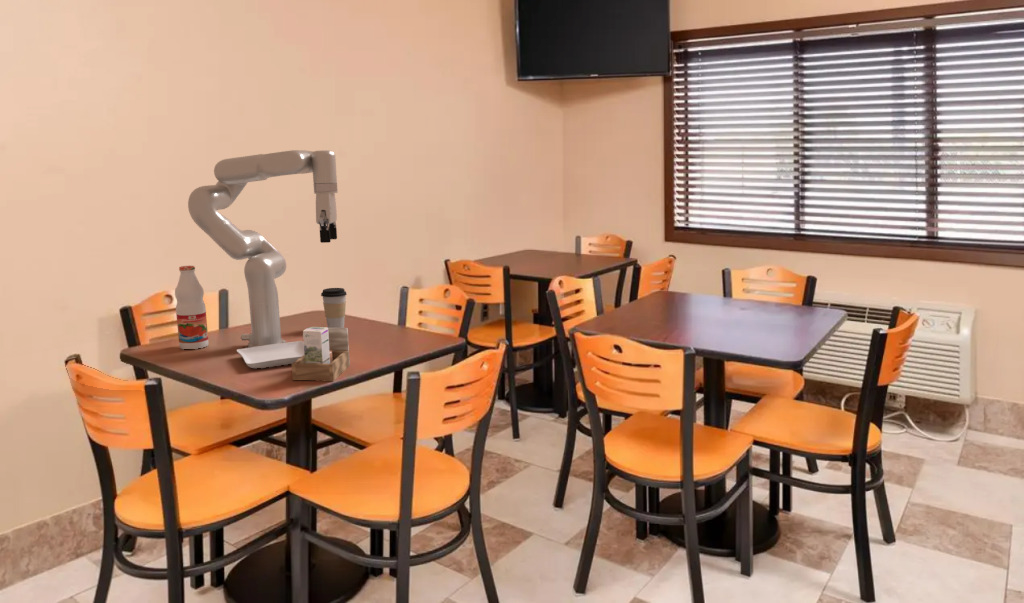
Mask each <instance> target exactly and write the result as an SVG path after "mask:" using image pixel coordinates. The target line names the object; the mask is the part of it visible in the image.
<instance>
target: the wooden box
mask: <svg viewBox="0 0 1024 603" xmlns="http://www.w3.org/2000/svg"><path fill="white" fill-rule="evenodd" d="M328 333H329V349H331V350H332V356H333V362H331V363H330V364H316V363H305V356H304V355H303V356H302V357H301V358H299V359H298V360H297V361H295V362H294V363H293V364H291V372H292V381H293V380H325V381H324V382H334V381H336V380H337V378H339V377H340V376H341V375H342V374H343V373H344V372H345V371H346V370H347V369H348V368H349V367H350V366H351V362H350V346H349V328H348V327H344V328H328ZM340 374H341V375H340ZM339 375H340V376H339Z"/></svg>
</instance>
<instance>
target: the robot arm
mask: <svg viewBox="0 0 1024 603" xmlns="http://www.w3.org/2000/svg"><path fill="white" fill-rule="evenodd" d="M336 160H337V158H336V154H335V152H334V151H333V150H315V151H312V150H305V149H304V150H302V149H301V150H300V149H299V150H297V149H295V150H293V149H292V150H284V151H277V152H271V153H270V152H269V153H259V154H252V155H244V156H238V157H231V158H224V159H221V160H219V161H218V162H217V163H216V164H215V166H214V169H213V174H214V177H215V178H216V180H217V182H216V184H212V185H210V184H209V185H202V186H199V187H196V188H195V189H193V190H192V191H191V193H190V195H188V196H189V197H188V201H187V208H188V212H189V216H190V217H191V219H192V221H193V222H194V223H195V225H197V227H198V228H200V229H201V231H203V232H204V233H205V234H206V235H207V236H208V237H210V239H211V240H213V242H214V243H215V244H216V245H217V246H218V247H219V248H220V249H222V250H223V252H225V253H226V255H228V256H229V257H230V258H231V259H233V260H236V261H238V260H240V261H241V260H246V259H248V260H247V261H246V262H245V265H244V269H243V270H244V271H243V273H244V274H243V275H244V278H245V283H246V288H247V292H248V293H247V294H248V303H249V304H248V305H249V314H250V329H251V332H250V333H242V334H240V339H241V341H248V343H247V348H251V347H257V346H264V345H271V344H279V343H287V340H285V339H284V338H282V332H281V320H280V319H281V318H280V303H279V302H280V301H279V292H278V288H277V284H276V282H275V280H276V279H278V278H280V277H281V276H283V275H284V273H285V272H286V271H287V270H286V269H287V262H286V259H285V257H284V256H283V254H282V253H281V252H280V251H278V250H277V248H276V247H274V245H272V244H271V242H269V241H268V240H267V239H266V238H265V237H264V236H263V235H262V234H261V233H259V232H258V231H255V230H252V229H244V230H241V229H239V227H237V226H236V225H235V224H234V223H233V222H232V221H231V220H230V219H229V218H228V217H226V216H225V215H222V214H221V212H219V211H220V210H225V209H227V208H229V207H230V206H232V204H233V203H234V202H235V201H236V200H237V198H238V197H239V196H240V194H241V193H242V191H243V190H244V189H245V187H246V186H247V184H248V183H254V182H260V181H266V180H268V179H269V178H270V179H271V178H274V177H282V176H290V175H291V176H292V175H299V174H301V175H303V174H311V173H312V179H313V180H312V182H313V194H315V223H316V224H317V225H319V239H320V240H319V241H320V243H322V244H323V243H328V244H329V243H331V241H332V240H337V239H338V234H337V233H338V232H337V231H338V230H337V223H336V222H337V217H338V216H337V215H338V214H337V201H336V194H338V181H337V180H338V179H337V178H338V176H337V163H336V162H337V161H336ZM218 210H219V211H218Z"/></svg>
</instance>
